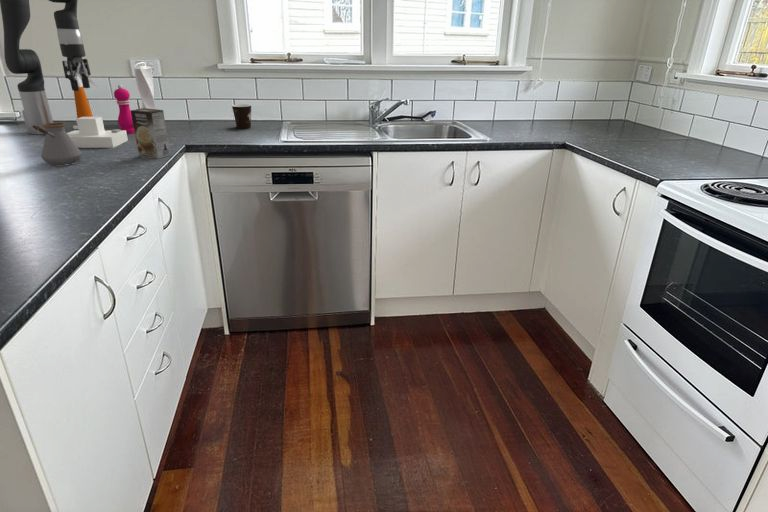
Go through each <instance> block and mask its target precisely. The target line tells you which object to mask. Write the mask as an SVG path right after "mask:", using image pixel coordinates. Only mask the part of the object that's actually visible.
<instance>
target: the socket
mask: <svg viewBox="0 0 768 512" xmlns="http://www.w3.org/2000/svg"><path fill="white" fill-rule="evenodd" d="M104 130H105V133H102V134H100V135H80V133H79V129H75V130H71V131H69V132H66V133H67V134H68V135H69V137H70V138H71V139H72V141H73V142H74V143H75V145H76V146H77V148H78V149H79V148H81V149H88V148H89V149H92V148H93V149H95V148H96V149H98V148H101V149H102V148H103V149H105V148H107V149H108V148H109V149H110V148H111V149H112V148H113V149H114V148H116V147H118V146H120V145H122V144H123V143H124V144H125V143H127V142H128V141H129V139H128V138H129V137H128V134H127V133H126V130H121V128H120V129H118V128H115V129H112V130H110V129H109V130H106V129H104Z"/></svg>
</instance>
